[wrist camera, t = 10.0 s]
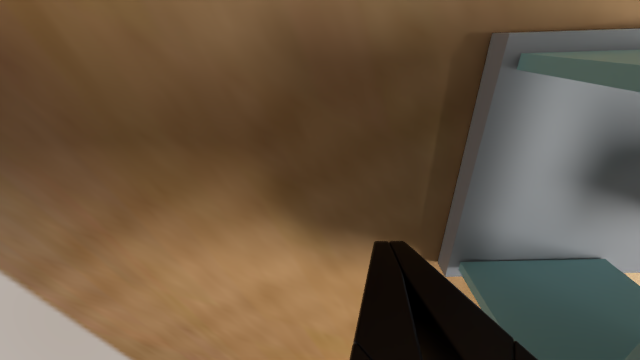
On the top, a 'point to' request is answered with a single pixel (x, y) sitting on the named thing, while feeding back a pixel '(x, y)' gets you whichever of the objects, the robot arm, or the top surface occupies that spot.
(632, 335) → the housing cover
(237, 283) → the top surface
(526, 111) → the base plate
